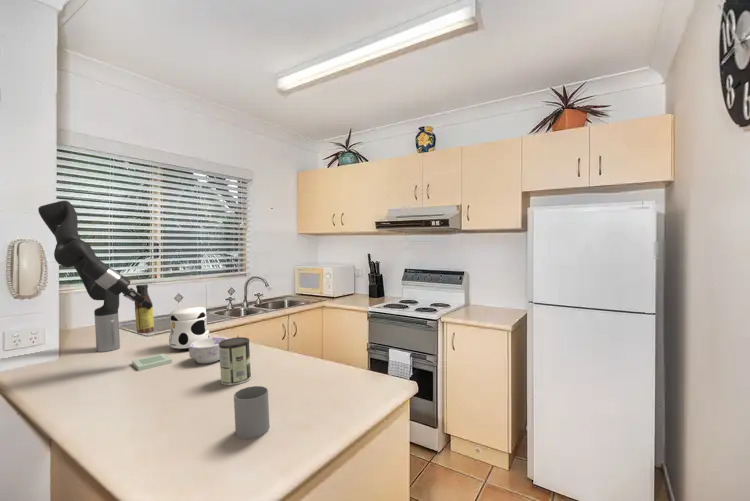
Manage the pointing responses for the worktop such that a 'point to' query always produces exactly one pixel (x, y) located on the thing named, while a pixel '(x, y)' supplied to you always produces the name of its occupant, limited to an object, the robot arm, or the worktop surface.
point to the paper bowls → (206, 350)
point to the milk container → (187, 327)
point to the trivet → (151, 361)
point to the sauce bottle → (144, 312)
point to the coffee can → (235, 361)
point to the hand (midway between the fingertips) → (148, 306)
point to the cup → (251, 412)
